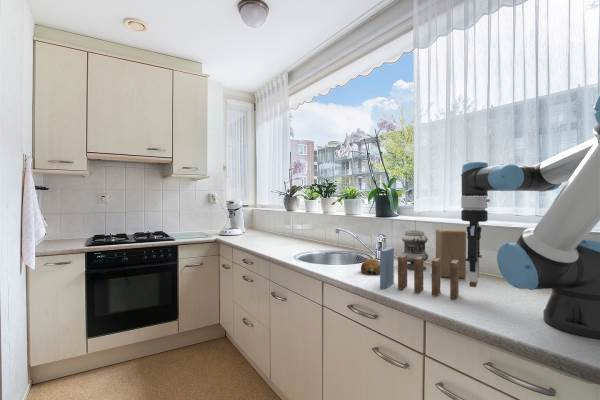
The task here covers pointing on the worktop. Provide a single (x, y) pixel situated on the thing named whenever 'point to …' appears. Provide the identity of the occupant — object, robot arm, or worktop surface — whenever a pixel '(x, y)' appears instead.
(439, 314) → the worktop surface
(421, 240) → the grey tall rounded piece
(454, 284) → the domino
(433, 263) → the domino
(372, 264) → the brown furry rounded lump
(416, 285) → the domino
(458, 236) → the wooden block
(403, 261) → the domino
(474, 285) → the loose domino
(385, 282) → the board
